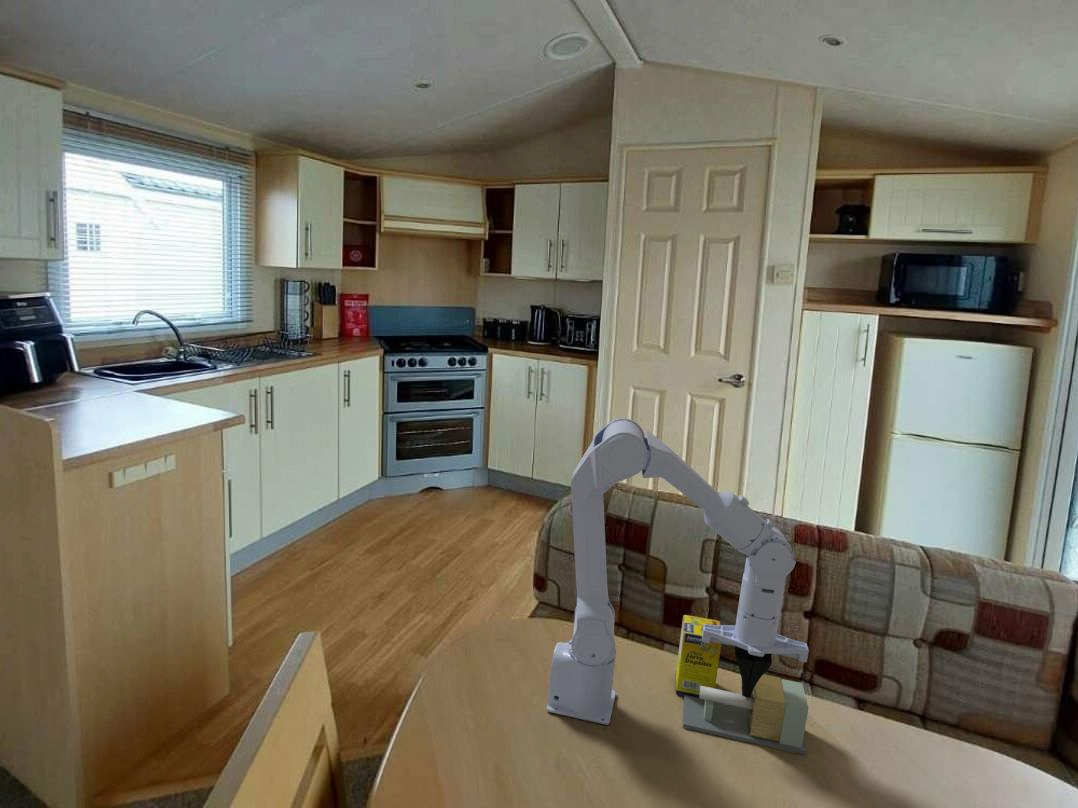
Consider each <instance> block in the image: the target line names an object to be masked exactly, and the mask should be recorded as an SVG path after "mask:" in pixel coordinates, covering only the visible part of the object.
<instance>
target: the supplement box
mask: <svg viewBox="0 0 1078 808" xmlns="http://www.w3.org/2000/svg"><path fill="white" fill-rule="evenodd" d="M704 624H708V625H721V621H720V620H717V619H711V618H706V617H705V618H704V617H699V616H693V615H687V614H684V615H683V617H682V623H681V632H680V638H679V646H678V653H677V662H676V668H675V694H676V695H679V696H683V697H684V695H687V696H691V697H696V698H699V695H700V686H705V687H710V688H714V689H716V685H717V677H718V671H719V669H718V668H719V662H720V656H721V649H722V644H721V643H716V642H711V641H710V643H704V642H702V632H703V625H704Z"/></svg>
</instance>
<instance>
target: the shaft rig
mask: <svg viewBox="0 0 1078 808" xmlns="http://www.w3.org/2000/svg"><path fill="white" fill-rule="evenodd" d="M781 682H782V687H783V692H784V697H785V702H786V705H785V711H784V717H783V723H782V729H781V735H780V741H774V740H770V739H765V738H761V737H756V736H752V735H750V729H749V719H748V710H747V709H751V710H752V708H753V702H754V699H753V696H751V697H750V698H749V697H744V696H742V693H739V692H733V691H728V690H724V689H723V690H722V689H719V688H715V689H714V688H710V687H705V686H700V695H699V698H696V697H691V696H687V695H684V696H683V711H682V712H683V715H682V719H683V720H682V728H683V729H687V730H693V731H696V732H701V733H706V734H709V735H715V736H720V737H723V738H729V739H732V740H737V741H742V742H744V743H745V742H746V743H749V742H750V744H754V743H755V744H754V745H758V744H759V746H762V747H768V748H771V749H777V750H781V751H786V752H791V753H795V754H800V755H803V756H805V755H806V752H807V751H806V747H805V742H804V736H805V730H806V726H807V725H806V724H807V720H808V713H809V705H808V701H807V697H806V694H805V689H804V685H803V682H799V681H793V680H789V679H784V678H781Z"/></svg>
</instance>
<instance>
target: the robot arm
mask: <svg viewBox="0 0 1078 808" xmlns="http://www.w3.org/2000/svg"><path fill="white" fill-rule="evenodd" d="M645 433H646V437H645ZM645 433H644V430H643V428H642V427H641V425H640V424H639V423H637V422H636V421H635V420H634V419H633V420H632V419H630V418H623V417H622V418H617V419H613V420H612V421H610V422H608V424H606V425H605V426H604V427H602V428H601V429H599V431H597V432H596V433H595V435H594V437H593V439H592V441H591V443H590V445H589V446H588V448H587V449H586V451H585V452H584V454H583V456H582V457H581V459H580V461H579V462H578V464H577V465H576V467H575V468H574V469H573V473H572V476H571V480H570V481H571V482H570V486H571V487H570V489H571V490H570V492H571V508H572V529H573V545H574V546H573V548H574V565H575V566H574V567H575V569H574V570H575V581H576V582H575V584H576V586H575V587H576V607H575V610H574V623H573V631H572V632H573V633H572V638H571V639H569V641H568V642H560V641H559V642H557V643H556V645H555V647H554V650H553V654H552V657H551V658H552V659H551V665H550V672H549V673H550V674H549V675H550V676H549V682H548V683H549V685H548V694H547V695H548V697H547V706H546V711H547V712H549V713H554V714H558V715H562V716H567V717H571V718H575V719H578V720H579V719H580V720H584V721H588V722H593V723H598V724H602V725H605V726H606V725H607V726H608V725H610V722H611V718H612V714H613V709H614V702H615V699H616V690H614V689H613V684H614V673H615V665H616V655H617V649H616V641H615V620H616V613H615V609H614V607H613V605H612V603H611V601H610V599H609V589H608V575H607V574H608V572H607V555H606V554H607V553H606V552H607V550H606V547H607V546H606V529H605V527H606V526H605V507H604V505H605V504H604V494H605V493H606V492H607V491H608V490H610V489H611V488H612V487H613V486H614V485H616V483H619V482H622V481H625V480H627V479H631V478H632V477H634V476H636V475H638V474H639V473H641V474H642V478H643V479H654V478H657V479H658V478H661V479H663V480H665V481H666V482H667V483H669V484H670V485H671V486H673V488H675V489H676V490H677V491H678V492H679V493H681V494H683V495H684V496H685V497H686V498H688V499H689V500H690V501H692V503H694V504H696V505H697V506H698V507H699V508H700V509H702V510H703V519H704V523H705V525H707V526H708V527H709V528H711V529H712V530H713V531H714V532H715V533H717V534H718V535H719V536H720V537H721V538H722V539H723V540H724V541H725V542H727V543H728V544H730V546H732V547H733V548H734V549H735V550H736V551H738V552H739V553H741V554H743V555H746V556H748V557H746V559H745V564H744V570H743V571H744V572H743V574H742V580H741V587H740V592H739V600H738V605H737V606H738V607H737V612H736V620H735V625H733V624H732V625H731V624H730V625H725V624H724V625H722V624H720V625H708V624H704V625H703V632H702V642H704V643H710V641H711V642H716V643H721V645H722V644H723V645H728V646H732V647H733V649H734V656H735V657H734V658H735V661H736V663H737V666H738V669H739V674H740V678H741V694H742V696H744V697H749V698H750V697H751V694H752V692H753V689H754V687H755V685H756V684H757V682H758V681H759V679H760V678H761V676H762V675H763V674H764V675H765V673H766V672H767V671H768V670H769V669H770V668H771V667H772V663H773V657H772V655H778V656H784V657H789V658H794V659H797V660H798V661H800V662H801V663H807V662H808V657H809V652H810V651H809V647H808V646H809V645H808V644H807V642H802V641H797V640H795V639H791V638H788V637H786V636H783V635H781V634H778V629H779V625H780V624H779V622H780V618H781V617H780V616H781V612H782V604H783V599H784V592H785V587H786V585H785V583H786V577H787V576H788V575H789V574H790V573H791V572H792V571H793V570H794V568H795V565H796V563H797V561H796V560H795V555H794V551H793V548H792V546H791V545H790V542H788V540H787V538H786V537H785V535H784V534H783V532H782V531H780V529H778V526H777V524H774V523H773V522H772V520H770V519H769V518H766V519H764V518H763V517H761V515H759V514H758V512H756V511H754V510H753V509H752V508H751V507H750V506H749V505H750V501H749V500H748V498H746V497H745V496H744V495H743V494H740V495H739V496H737V495H736V494H735V493H734V492H731V491H727V492H726V491H717V490H716V489H715V488H714V487H713V486H712V485H711V484H710V483H709V482H707V480H705V479H704V478H703V477H702V476H700V474H699V473H697V472H696V470H694V469H693V468H692V467H691V466H690V465H689V464H688V463H687V462H685V460H684V459H682V458H681V457H680V456H679V455H678V454H677V453H676V452H675V451H673V449H671V447H669V446H668V445H667V444H665V442H663V441H661V439H660V438H658V437H657V436H655V435H654V434H653V433H651V432H650V431H648V430H645Z"/></svg>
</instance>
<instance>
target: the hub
mask: <svg viewBox="0 0 1078 808" xmlns="http://www.w3.org/2000/svg"><path fill="white" fill-rule="evenodd" d="M781 679H782V678H781V677H779V676H778V677H777V676H774V675H768V674H765V673H764V674H763V675H762V676H761V678H760V679H759V681H758V682H757V684H756V685H755V687H754V689H753V692H752V694H751V696H753V699H754V702H753V708H752V710H751V709H747V710H748V719H749V729H750V735H752V736H756V737H761V738H765V739H770V740H774V741H780V735H781V729H782V723H783V717H784V711H785V705H786V702H785V697H784V692H783V687H782V682H781Z"/></svg>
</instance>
